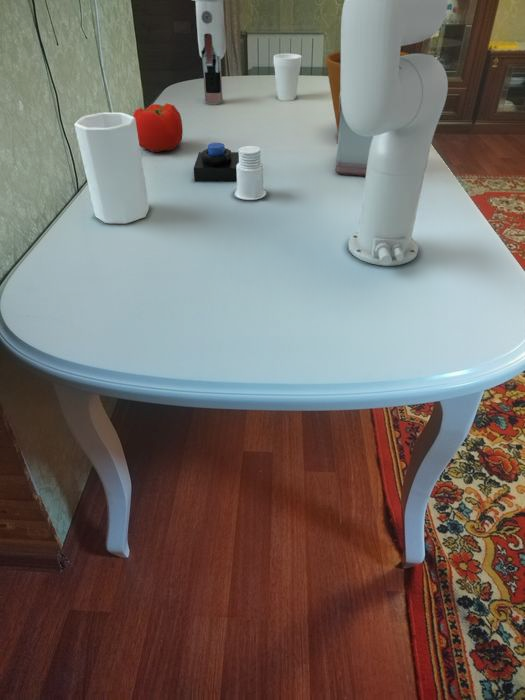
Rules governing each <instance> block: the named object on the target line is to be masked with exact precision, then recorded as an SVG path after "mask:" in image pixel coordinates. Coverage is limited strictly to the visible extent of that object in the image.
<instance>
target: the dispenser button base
mask: <svg viewBox="0 0 525 700" xmlns="http://www.w3.org/2000/svg"><path fill="white" fill-rule="evenodd" d="M238 163H239V151H232V150H230V149H229V148H226V147H225V154H223V155H218V156H213V155H209V154H208V148H206V149H203V150H202V151H199V152H198V153H197V156H196V160H195V163H194V165H193V176H194V179H193V180H194V182H227V183H228V182H229V183H230V182H231V183H232V182H236V183H237V170H236V165H237V164H238Z"/></svg>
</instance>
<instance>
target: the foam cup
mask: <svg viewBox="0 0 525 700" xmlns="http://www.w3.org/2000/svg"><path fill="white" fill-rule="evenodd" d="M302 57H303V55H301V54H296V53H277V54H274V55H273V61H272V62H273V68H274V77H275V87H276V97H277V99H278V100H279V101H286V102H288V101H294V100H296V97H297V92H298V84H299V78H300V72H301V65H302Z"/></svg>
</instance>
